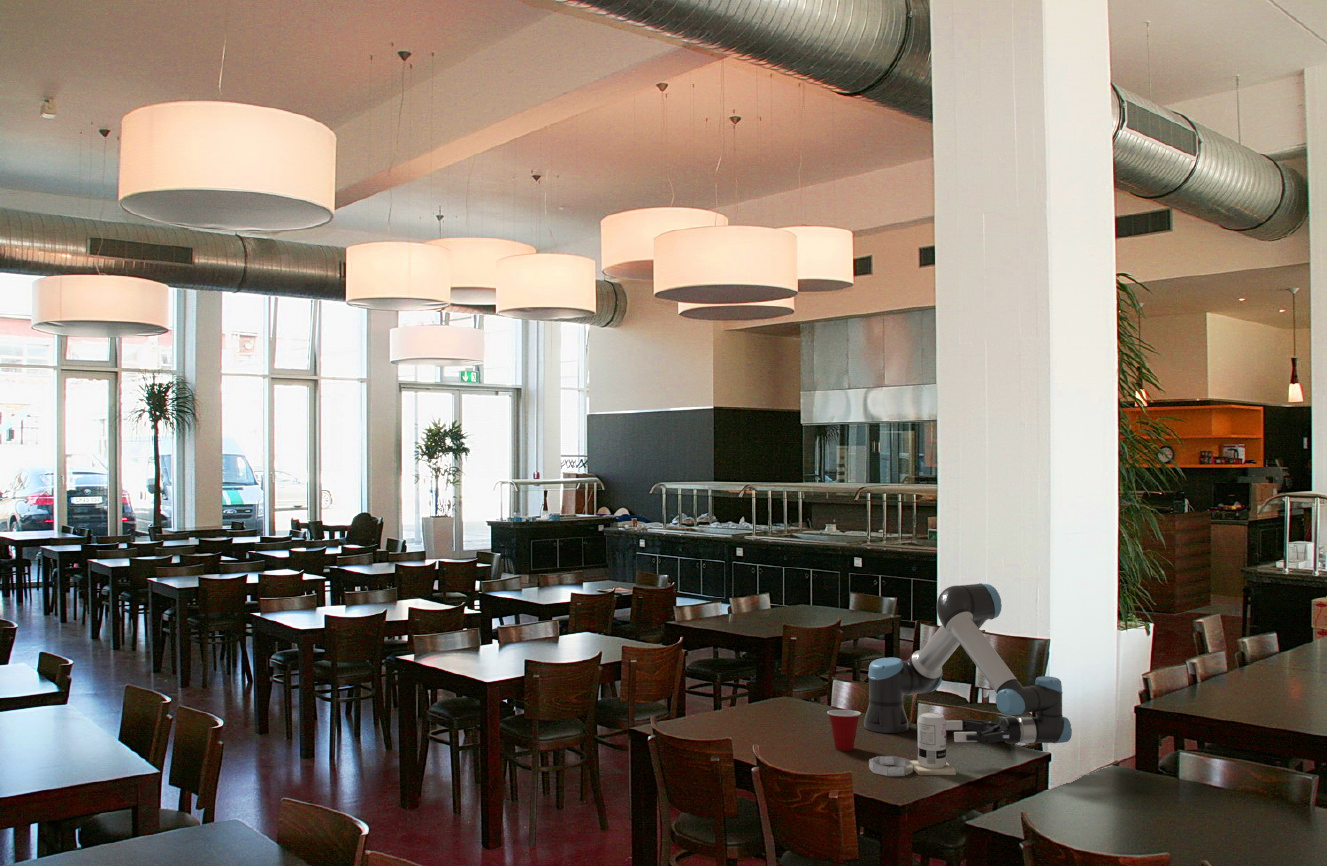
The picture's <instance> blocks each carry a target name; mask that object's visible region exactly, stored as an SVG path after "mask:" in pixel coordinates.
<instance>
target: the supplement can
mask: <svg viewBox="0 0 1327 866" xmlns="http://www.w3.org/2000/svg"><path fill="white" fill-rule="evenodd" d="M946 721H947V720H946V719H945V717H944V715H943V714H942V713H938V712H930V711H928V712H922V713H920V714H919V716H918V717H917V760H918V763H919V764H920V765H921V766H922V767H925V768H930V769H939V768H943V767H944V766H945V765H946V762H947V730H946Z"/></svg>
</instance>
